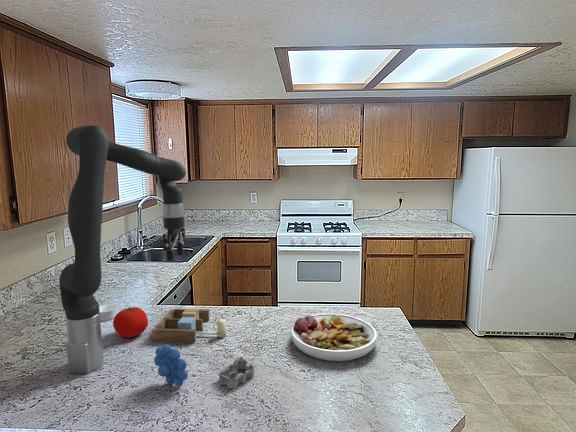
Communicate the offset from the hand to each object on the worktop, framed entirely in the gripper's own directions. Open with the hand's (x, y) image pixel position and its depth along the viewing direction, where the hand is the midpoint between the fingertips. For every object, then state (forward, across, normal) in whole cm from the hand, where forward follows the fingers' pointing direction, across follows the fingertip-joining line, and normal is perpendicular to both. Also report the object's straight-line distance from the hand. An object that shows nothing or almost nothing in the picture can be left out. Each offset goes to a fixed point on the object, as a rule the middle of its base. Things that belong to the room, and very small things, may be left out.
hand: (175, 257), depth 144 cm
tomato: (+28, -9, +14) cm, 33 cm away
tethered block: (+28, -6, -12) cm, 31 cm away
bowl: (+28, -4, -60) cm, 67 cm away
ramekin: (+28, +5, +34) cm, 44 cm away
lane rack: (+28, -2, -4) cm, 28 cm away
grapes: (+28, -37, -14) cm, 49 cm away
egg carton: (+29, -31, -32) cm, 53 cm away
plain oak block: (+28, +2, -4) cm, 29 cm away
